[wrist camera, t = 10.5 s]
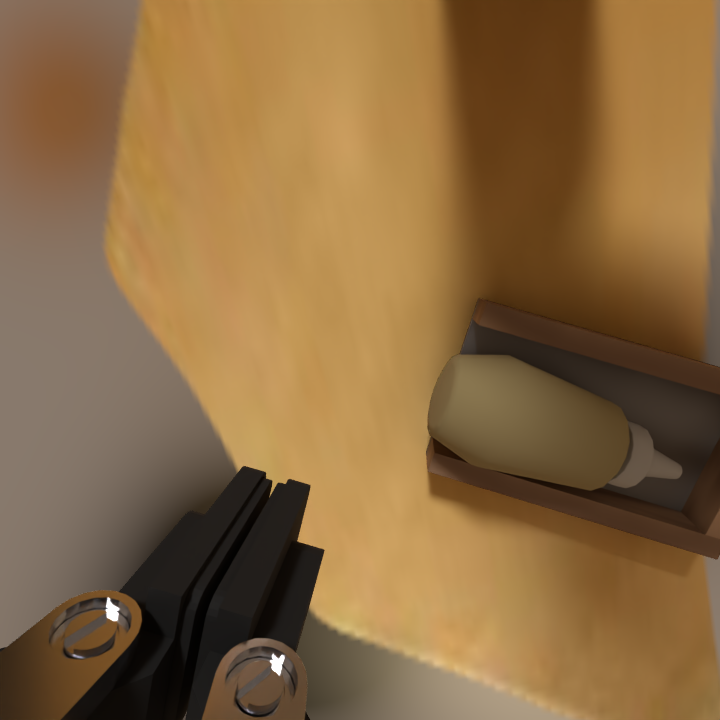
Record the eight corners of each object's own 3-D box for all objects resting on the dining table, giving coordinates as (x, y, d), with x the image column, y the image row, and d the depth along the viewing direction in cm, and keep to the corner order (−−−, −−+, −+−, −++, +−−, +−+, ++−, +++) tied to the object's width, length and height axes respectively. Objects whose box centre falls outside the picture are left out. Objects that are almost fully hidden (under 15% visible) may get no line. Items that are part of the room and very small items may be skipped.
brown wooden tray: (478, 298, 33) (486, 302, 30) (768, 381, 32) (809, 395, 29) (426, 451, 37) (427, 471, 33) (687, 530, 36) (717, 559, 32)
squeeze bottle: (424, 383, 36) (624, 449, 37) (413, 471, 31) (647, 544, 32) (467, 314, 30) (703, 395, 31) (463, 408, 25) (749, 502, 26)
